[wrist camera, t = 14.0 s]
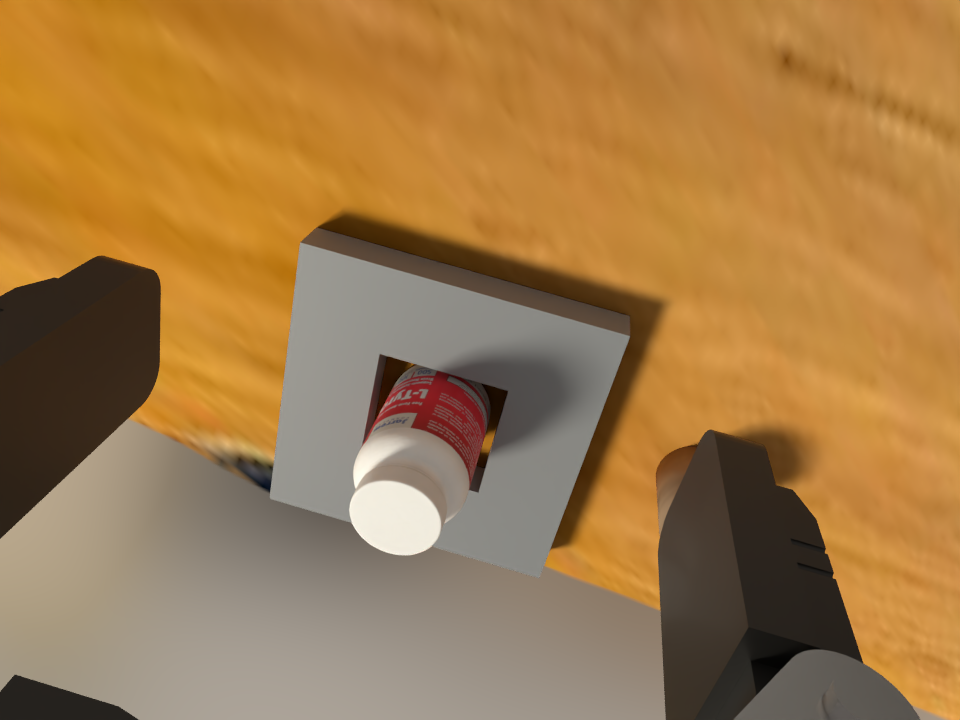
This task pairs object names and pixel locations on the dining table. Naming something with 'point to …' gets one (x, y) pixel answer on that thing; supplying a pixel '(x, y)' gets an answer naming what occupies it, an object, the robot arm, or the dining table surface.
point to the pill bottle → (418, 460)
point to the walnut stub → (671, 478)
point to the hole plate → (450, 349)
